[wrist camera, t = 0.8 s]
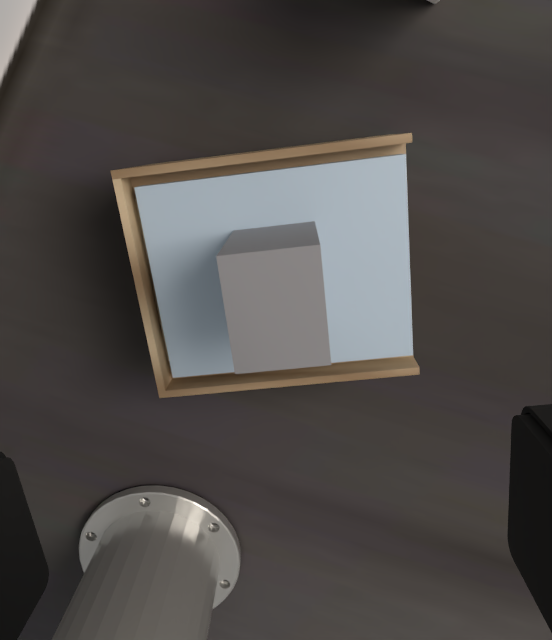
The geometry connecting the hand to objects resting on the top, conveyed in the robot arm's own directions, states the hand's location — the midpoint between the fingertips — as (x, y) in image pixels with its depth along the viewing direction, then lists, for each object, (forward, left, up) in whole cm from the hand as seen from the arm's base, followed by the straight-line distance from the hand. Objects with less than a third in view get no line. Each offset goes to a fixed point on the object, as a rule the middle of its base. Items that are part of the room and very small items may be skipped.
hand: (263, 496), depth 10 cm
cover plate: (0, 0, -18) cm, 18 cm away
